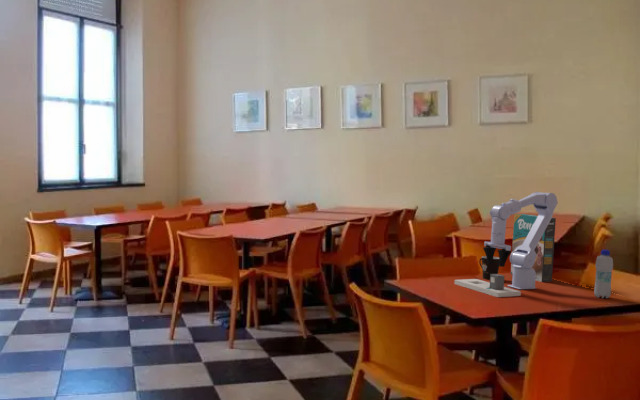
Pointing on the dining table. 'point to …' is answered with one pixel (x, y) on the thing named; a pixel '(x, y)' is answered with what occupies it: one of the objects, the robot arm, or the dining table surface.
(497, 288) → the plug
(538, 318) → the dining table surface
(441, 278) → the dining table surface
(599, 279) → the bottle
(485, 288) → the panel
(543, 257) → the cake mix box
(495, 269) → the coffee mug
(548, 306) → the dining table surface
